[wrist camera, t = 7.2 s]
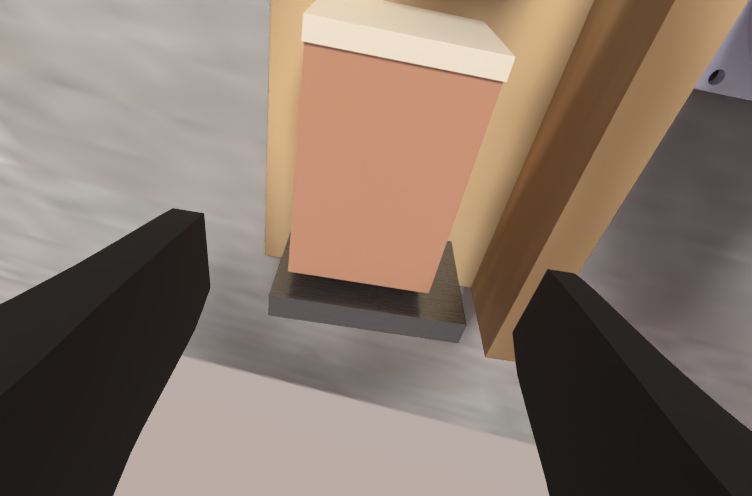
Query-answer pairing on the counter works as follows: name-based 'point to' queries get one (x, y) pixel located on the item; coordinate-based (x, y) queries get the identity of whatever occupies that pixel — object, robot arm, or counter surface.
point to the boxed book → (387, 137)
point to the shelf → (534, 132)
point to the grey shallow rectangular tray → (373, 302)
